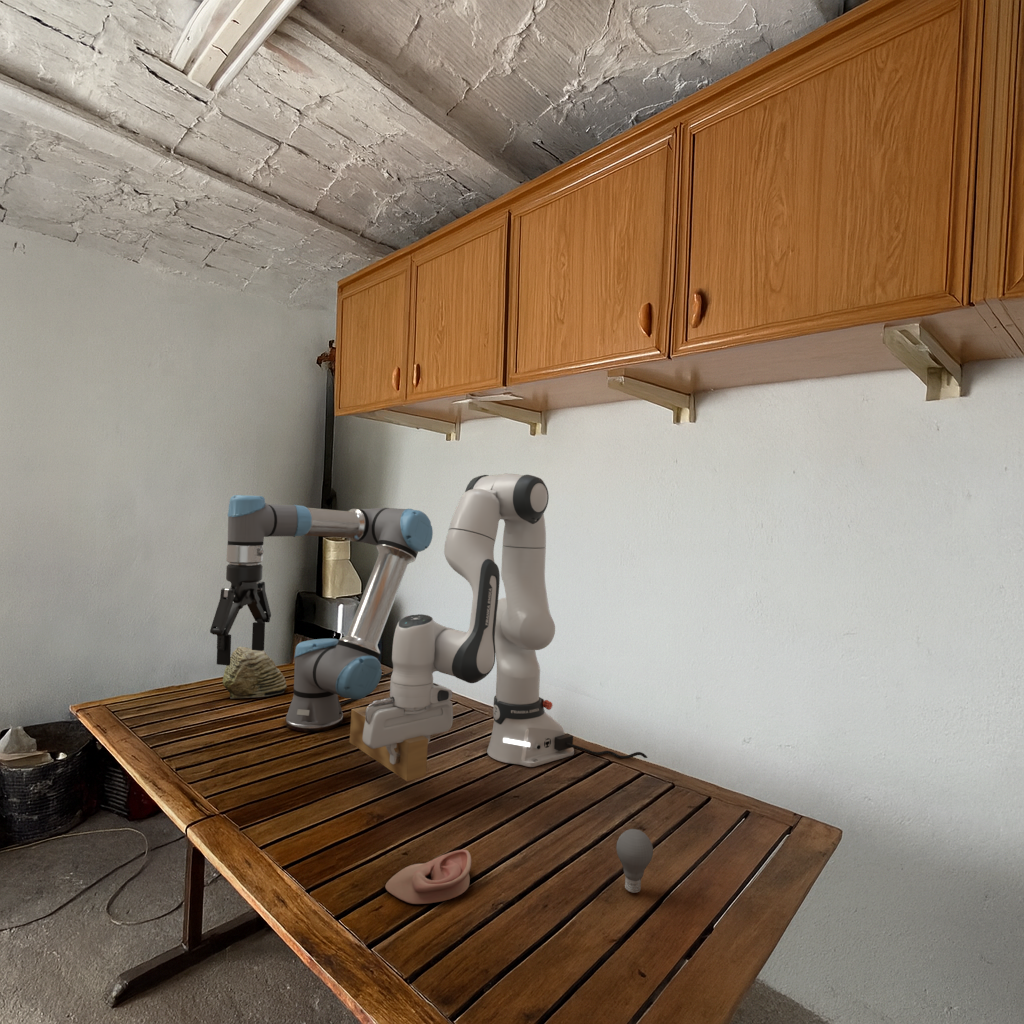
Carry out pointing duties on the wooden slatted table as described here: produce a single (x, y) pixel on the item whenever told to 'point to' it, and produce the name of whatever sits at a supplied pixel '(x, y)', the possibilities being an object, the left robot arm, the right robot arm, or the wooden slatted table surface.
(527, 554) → the right robot arm
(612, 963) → the wooden slatted table surface
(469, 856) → the anatomical model
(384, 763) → the bar
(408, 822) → the wooden slatted table surface
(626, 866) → the light bulb
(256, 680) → the fossil
